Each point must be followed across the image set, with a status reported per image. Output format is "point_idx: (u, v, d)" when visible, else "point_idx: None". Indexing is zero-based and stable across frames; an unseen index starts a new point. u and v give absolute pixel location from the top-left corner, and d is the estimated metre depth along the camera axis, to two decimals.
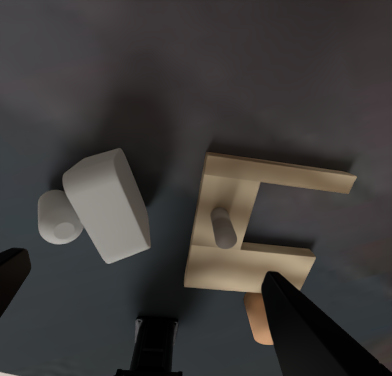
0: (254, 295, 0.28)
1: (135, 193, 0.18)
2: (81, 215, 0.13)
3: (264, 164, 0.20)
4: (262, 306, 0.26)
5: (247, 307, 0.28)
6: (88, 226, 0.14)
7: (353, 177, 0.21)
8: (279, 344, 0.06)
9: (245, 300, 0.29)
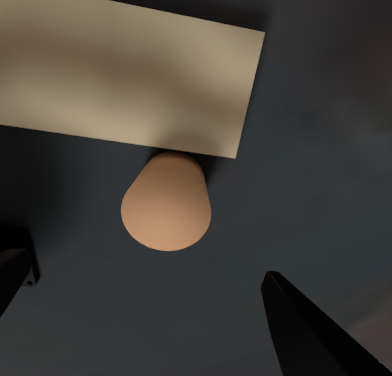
0: (150, 161, 0.14)
1: None
2: None
3: None
4: (152, 165, 0.12)
5: None
6: None
7: None
8: (279, 344, 0.06)
9: None
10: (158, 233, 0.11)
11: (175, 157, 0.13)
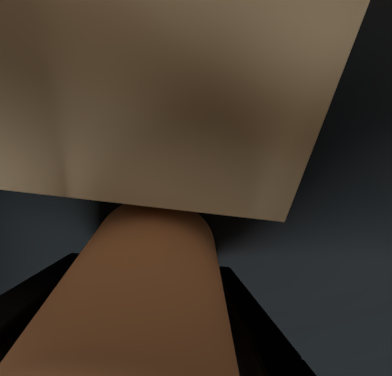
0: (103, 225, 0.07)
1: None
2: None
3: None
4: (91, 260, 0.05)
5: None
6: None
7: None
8: None
9: None
10: None
11: (154, 222, 0.06)
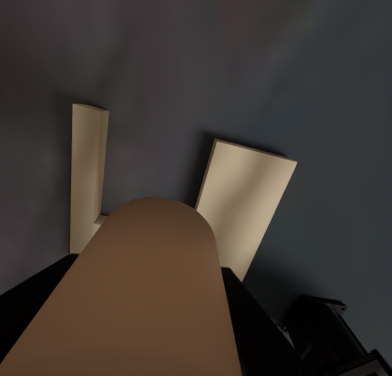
0: (104, 225, 0.06)
1: None
2: None
3: (71, 220, 0.18)
4: (92, 259, 0.05)
5: None
6: None
7: (74, 109, 0.14)
8: None
9: None
10: None
11: (155, 222, 0.06)
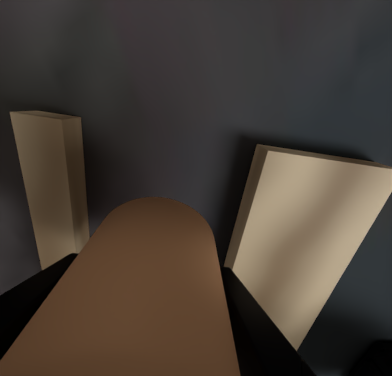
0: (103, 225, 0.06)
1: None
2: None
3: None
4: (91, 259, 0.05)
5: None
6: None
7: (14, 121, 0.08)
8: None
9: None
10: None
11: (155, 222, 0.06)
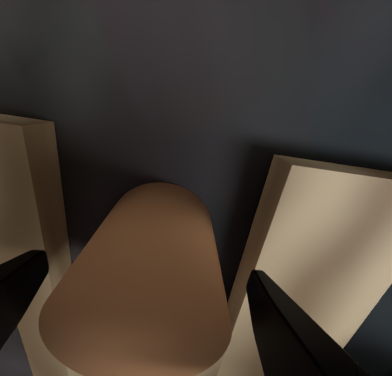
0: (119, 203, 0.08)
1: None
2: None
3: (20, 327, 0.10)
4: (114, 223, 0.06)
5: None
6: None
7: None
8: (261, 343, 0.06)
9: None
10: (124, 364, 0.06)
11: (162, 199, 0.07)
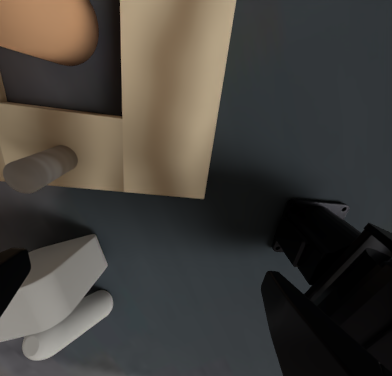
0: None
1: (38, 259, 0.17)
2: None
3: None
4: None
5: None
6: None
7: None
8: (279, 344, 0.06)
9: None
10: None
11: None
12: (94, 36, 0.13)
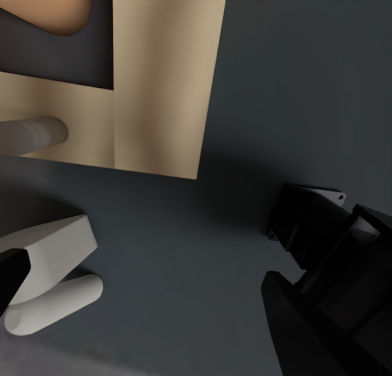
0: None
1: (26, 234, 0.17)
2: None
3: None
4: None
5: None
6: None
7: None
8: (279, 344, 0.06)
9: None
10: None
11: None
12: (87, 4, 0.13)
